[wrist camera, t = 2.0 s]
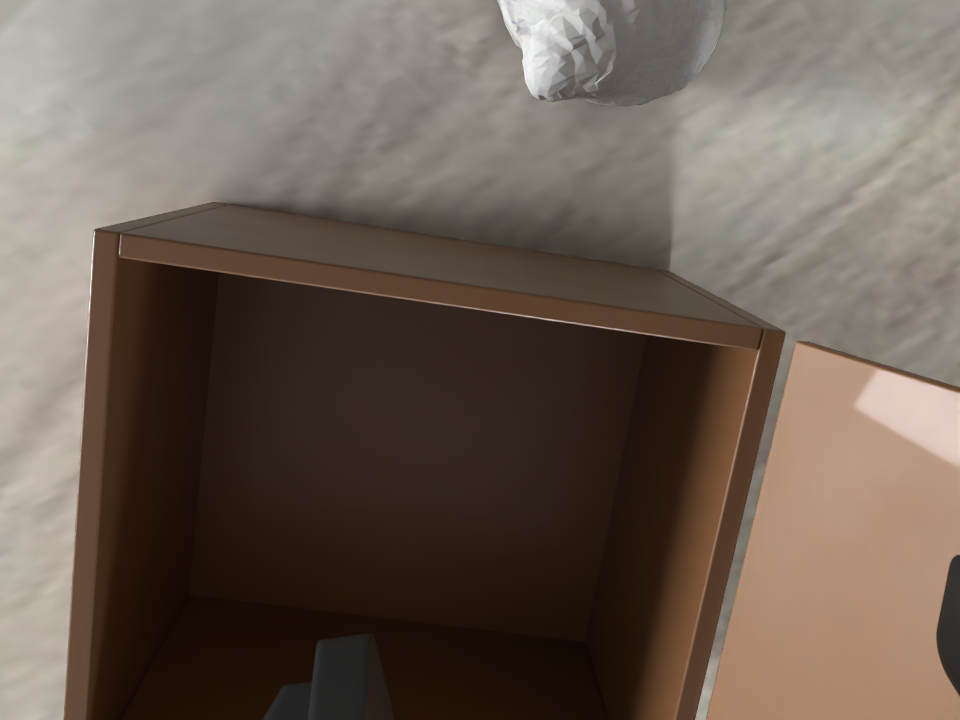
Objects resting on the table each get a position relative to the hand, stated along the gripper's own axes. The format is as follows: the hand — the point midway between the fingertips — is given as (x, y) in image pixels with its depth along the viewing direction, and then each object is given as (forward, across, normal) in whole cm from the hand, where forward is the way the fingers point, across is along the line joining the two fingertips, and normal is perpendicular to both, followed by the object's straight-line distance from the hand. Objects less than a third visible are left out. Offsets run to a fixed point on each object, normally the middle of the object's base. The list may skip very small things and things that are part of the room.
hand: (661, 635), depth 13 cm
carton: (+15, +4, +6) cm, 17 cm away
